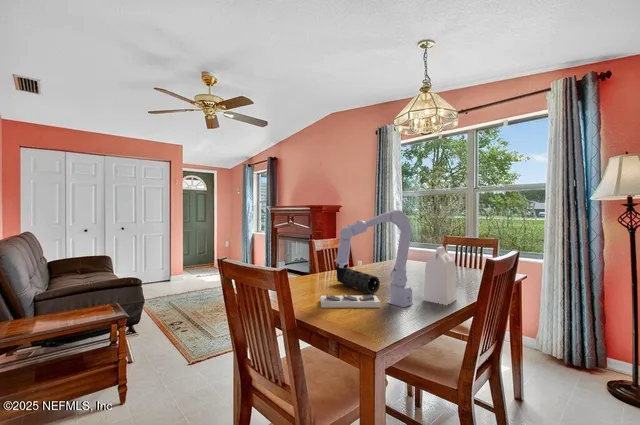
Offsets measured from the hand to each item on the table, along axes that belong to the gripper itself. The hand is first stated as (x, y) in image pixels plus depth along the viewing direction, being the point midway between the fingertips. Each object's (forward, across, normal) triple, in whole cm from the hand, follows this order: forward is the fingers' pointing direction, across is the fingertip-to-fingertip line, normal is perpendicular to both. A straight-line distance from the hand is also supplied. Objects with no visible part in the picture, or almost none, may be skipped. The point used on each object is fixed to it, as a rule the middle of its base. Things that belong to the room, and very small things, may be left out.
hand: (340, 279), depth 148 cm
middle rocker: (+7, +4, +6) cm, 10 cm away
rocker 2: (+6, +3, +14) cm, 15 cm away
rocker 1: (+8, +6, -2) cm, 10 cm away
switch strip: (+10, +3, +6) cm, 12 cm away
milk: (+5, -9, +49) cm, 50 cm away
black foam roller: (+10, -24, +9) cm, 27 cm away
